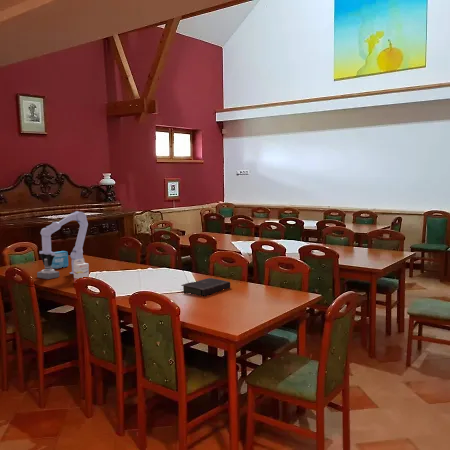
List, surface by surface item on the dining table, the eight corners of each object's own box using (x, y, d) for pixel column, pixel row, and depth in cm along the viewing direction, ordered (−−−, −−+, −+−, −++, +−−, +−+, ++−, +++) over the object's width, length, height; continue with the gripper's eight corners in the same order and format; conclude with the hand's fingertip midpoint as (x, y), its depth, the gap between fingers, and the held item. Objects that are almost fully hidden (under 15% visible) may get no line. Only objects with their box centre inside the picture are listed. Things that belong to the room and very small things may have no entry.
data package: (54, 268, 353) (53, 253, 352) (51, 268, 356) (50, 252, 355) (68, 266, 362) (67, 251, 361) (65, 265, 365) (64, 250, 364)
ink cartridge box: (78, 283, 305) (77, 260, 303) (73, 282, 308) (72, 259, 306) (89, 280, 311) (88, 258, 310) (85, 279, 314) (84, 258, 313)
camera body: (59, 276, 324) (59, 269, 324) (48, 279, 317) (47, 272, 316) (48, 275, 331) (48, 268, 331) (37, 277, 324) (36, 270, 323)
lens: (53, 268, 325) (52, 258, 324) (47, 269, 320) (47, 259, 320) (48, 267, 327) (47, 257, 326) (43, 268, 323) (42, 258, 322)
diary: (230, 289, 285) (230, 281, 285) (204, 298, 266) (204, 289, 265) (207, 284, 297) (207, 277, 296) (180, 293, 277) (180, 284, 276)
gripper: (35, 245, 322) (36, 265, 324) (48, 247, 314) (49, 267, 316) (43, 244, 328) (45, 263, 330) (57, 245, 320) (58, 265, 322)
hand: (47, 265), depth 323 cm, fingers closed on lens, 4 cm apart
